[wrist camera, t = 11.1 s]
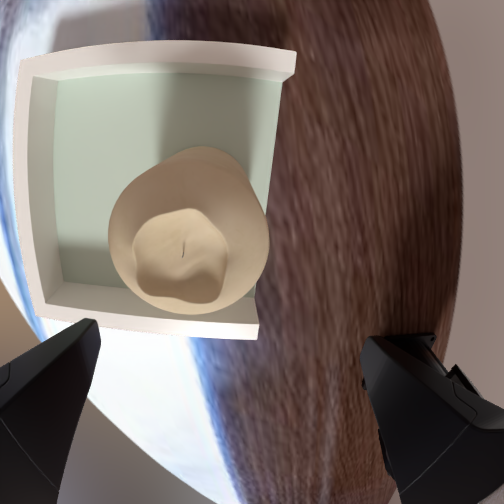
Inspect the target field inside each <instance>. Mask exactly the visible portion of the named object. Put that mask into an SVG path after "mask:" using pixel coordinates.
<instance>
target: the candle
mask: <svg viewBox="0 0 504 504" xmlns="http://www.w3.org/2000/svg"><path fill="white" fill-rule="evenodd" d="M269 242H270V238H269V228H268V224H267V219H266V217H265V214H264V211H263V209H262V206H261V204H260V202H259V200H258V198H257V196H256V194H255V192H254V190H253V188H252V186H251V183H250V181H249V179H248V177H247V175H246V173H245V171H244V170H243V168H242V167H241V165H240V164H239V163H238V162H237V161H236V160H235V159H234V158H233V157H232V156H231V155H229V154H228V153H226V152H224V151H222V150H220V149H217V148H213V147H207V146H198V147H192V148H188V149H185V150H183V151H181V152H178V153H177V154H175V155H173V156H171V157H169V158H168V159H166V160H164V161H162V162H160V163H159V164H157V165H155V166H153V167H152V168H150V169H148V170H147V171H145V172H144V173H142V174H141V175H139V176H138V177H136V178H135V179H134V180H133V181H132V182H131V183H130V184H128V186H127V187H126V188H125V189H124V190H123V192H122V193H121V194H120V196H119V198H118V199H117V201H116V203H115V205H114V208H113V210H112V213H111V216H110V220H109V227H108V244H109V251H110V254H111V258H112V261H113V263H114V266H115V268H116V270H117V272H118V273H119V275H120V277H121V278H122V280H123V281H124V282H125V284H126V285H127V286H128V287H129V288H130V289H131V290H132V291H133V292H134V293H135V294H136V295H137V296H139V297H140V298H141V299H143V300H144V301H146V302H147V303H149V304H151V305H153V306H155V307H157V308H160V309H162V310H165V311H169V312H173V313H178V314H187V315H196V314H205V313H210V312H214V311H217V310H220V309H223V308H225V307H227V306H229V305H231V304H233V303H234V302H236V301H237V300H239V299H240V298H242V297H243V296H244V295H245V294H246V293H247V292H248V291H249V290H250V289H251V288H252V287H253V286H254V285H255V283H256V282H257V280H258V279H259V277H260V275H261V273H262V271H263V269H264V267H265V264H266V261H267V257H268V252H269Z"/></svg>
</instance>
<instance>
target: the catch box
mask: <svg viewBox="0 0 504 504" xmlns="http://www.w3.org/2000/svg"><path fill="white" fill-rule="evenodd" d="M296 53H297V52H295V51H289V50H283V49H277V48H271V47H264V46H256V45H248V44H239V43H228V42H214V41H191V40H158V41H135V42H122V43H111V44H102V45H94V46H87V47H80V48H74V49H68V50H63V51H58V52H53V53H48V54H44V55H39V56H35V57H31V58H27V59H23V60H21V61H20V67H19V73H18V80H17V88H16V98H15V109H14V124H13V181H14V197H15V208H16V218H17V226H18V234H19V241H20V247H21V253H22V259H23V264H24V269H25V274H26V279H27V283H28V288H29V292H30V296H31V300H32V304H33V308H34V311H35V315H36V316H38V317H43V318H48V319H54V320H60V321H65V322H71V323H77V322H78V321H80V320H82V319H84V318H90V319H95V320H96V321H97V323H98V327H105V328H112V329H120V330H128V331H137V332H146V333H156V334H166V335H178V336H191V337H205V338H223V339H247V340H257V335H258V328H259V321H258V316H257V310H256V305H255V300H254V295H255V288H256V283H255V285H254V286H253V287H252V288H251V289H250V290H249V291H248V292H247V293H246V294H245V295H244V296H243V297H242V298H240V299H239V300H237V301H236V302H234V303H233V304H231V305H229V306H227V307H225V308H223V309H220V310H217V311H214V312H210V313H205V314H196V315H187V314H178V313H173V312H169V311H165V310H162V309H160V308H157V307H155V306H153V305H151V304H149V303H147V302H146V301H144V300H143V299H141V298H140V297H139V296H137V295H136V294H135V293H134V292H133V291H132V290H131V289H130V288H129V287H128V286H127V285H126V284H125V282H124V281H123V280H122V278H121V277H120V275H119V273H118V272H117V270H116V268H115V266H114V263H113V261H112V258H111V254H110V251H109V244H108V227H109V220H110V216H111V213H112V210H113V208H114V205H115V203H116V201H117V199H118V198H119V196H120V194H121V193H122V192H123V190H124V189H125V188H126V187H127V186H128V184H130V183H131V182H132V181H133V180H134V179H135V178H136V177H138V176H139V175H141V174H142V173H144V172H145V171H147V170H148V169H150V168H152V167H153V166H155V165H157V164H159V163H160V162H162V161H164V160H166V159H168V158H169V157H171V156H173V155H175V154H177V153H178V152H181V151H183V150H185V149H188V148H192V147H198V146H207V147H213V148H217V149H220V150H222V151H224V152H226V153H228V154H229V155H231V156H232V157H233V158H234V159H235V160H236V161H237V162H238V163H239V164H240V165H241V167H242V168H243V170H244V171H245V173H246V175H247V177H248V179H249V181H250V183H251V186H252V188H253V190H254V192H255V194H256V196H257V198H258V200H259V202H260V204H261V206H262V209H263V211H264V214H266V206H267V198H268V191H269V183H270V175H271V168H272V160H273V152H274V144H275V136H276V128H277V120H278V112H279V104H280V96H281V88H282V82H283V81H285V80H286V79H287V78H289V77H290V76H292V75H293V74H294V70H295V62H296Z"/></svg>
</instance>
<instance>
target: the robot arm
mask: <svg viewBox="0 0 504 504" xmlns="http://www.w3.org/2000/svg"><path fill="white" fill-rule="evenodd" d="M435 340H436V335H435V334H434V333H424V334H412V335H400V336H387V337H385V338H382V337H381V336H369V337H368V338H367V339H366V341H365V344H364V347H363V349H362V351H361V354H360V362H361V366H362V370H363V375H364V381H363V383H362V387H363V389H364V390H367V392H368V396H369V399H370V402H371V405H372V408H373V411H374V414H375V417H376V420H377V423H378V426H379V429H378V433H379V440H380V445H381V449H382V454H383V459H384V464H385V468H386V471H387V473H388V475H389V476H391V477H392V478H393V479H394V480H395V481H396V485H397V488H398V492H399V494H400V495H399V496H400V500H401V503H402V504H504V409H502V408H501V407H499V406H497V405H495V404H493V403H491V402H489V401H487V400H485V399H484V398H483V397H482V395H481V394H480V392H479V391H478V390H477V388H476V387H475V386H474V385H473V383H472V382H471V381H470V380H469V378H468V377H467V376H466V375H465V374H464V373H463V372H462V370H461V369H460V368H459V367H458V366H457V365H456V364H455V365H454V366H453V367H452V368H451V369H452V370H451V371H450V372H448V371H447V370H446V368H445V367H444V366H443V364H442V363H441V362H440V360H439V359H438V358H437V357H436V355H435V354H434V353H433V351H432V350H431V348H432V346H433V344H434V342H435ZM100 346H101V338H100V333H99V327H98V323H97V321H96V320H95V319H90V318H84V319H82V320H80V321H78V322H77V323H75V324H73V325H71V326H70V327H68V328H66V329H64V330H63V331H61V332H59V333H58V334H56V335H54V336H52V337H51V338H49V339H47V340H46V341H44V342H42V343H40V344H39V345H37V346H35V347H34V348H32V349H30V350H29V351H27V352H25V353H24V354H22V355H20V356H19V357H17V358H15V359H13V360H12V361H11V362H10V363H9V362H8V363H7V364H5V365H3V366H2V367H0V504H57V499H58V494H59V489H60V485H61V481H62V477H63V473H64V469H65V465H66V462H67V458H68V455H69V451H70V448H71V444H72V441H73V437H74V434H75V431H76V428H77V425H78V421H79V418H80V415H81V412H82V409H83V406H84V403H85V400H86V398H87V395H88V392H89V389H90V386H91V383H92V379H93V375H94V370H95V366H96V362H97V358H98V354H99V350H100Z"/></svg>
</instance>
